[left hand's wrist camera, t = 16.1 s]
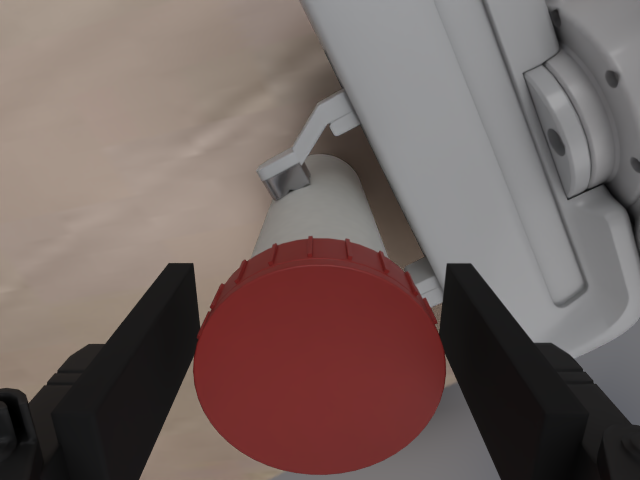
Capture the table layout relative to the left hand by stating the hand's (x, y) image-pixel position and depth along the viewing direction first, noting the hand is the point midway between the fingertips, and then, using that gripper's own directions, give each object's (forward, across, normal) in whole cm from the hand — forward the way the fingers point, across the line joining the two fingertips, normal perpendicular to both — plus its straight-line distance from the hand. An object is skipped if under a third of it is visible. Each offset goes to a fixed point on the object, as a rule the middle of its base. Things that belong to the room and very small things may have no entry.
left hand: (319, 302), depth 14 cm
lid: (-3, 0, 0) cm, 3 cm away
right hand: (+6, -1, 0) cm, 6 cm away
